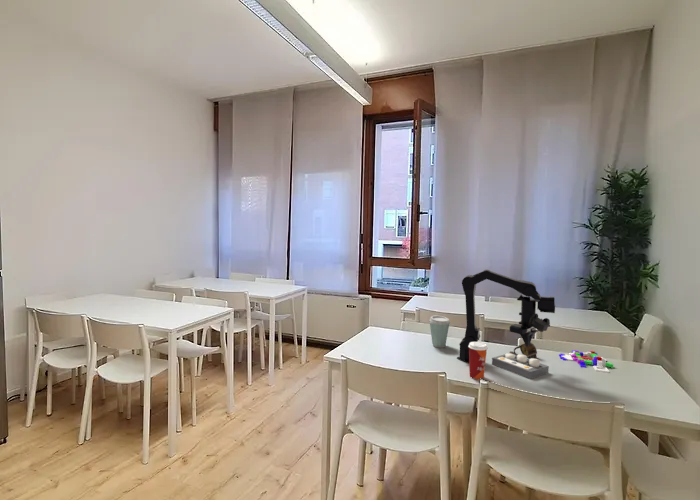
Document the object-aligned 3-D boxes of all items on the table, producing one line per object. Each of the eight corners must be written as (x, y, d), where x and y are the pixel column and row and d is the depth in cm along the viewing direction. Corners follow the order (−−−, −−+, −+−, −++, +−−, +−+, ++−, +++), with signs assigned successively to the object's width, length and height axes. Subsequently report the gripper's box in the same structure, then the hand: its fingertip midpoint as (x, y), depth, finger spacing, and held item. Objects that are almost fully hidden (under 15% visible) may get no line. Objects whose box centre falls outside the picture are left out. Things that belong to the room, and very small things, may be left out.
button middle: (523, 365, 172) (523, 358, 172) (514, 362, 176) (515, 355, 176) (528, 363, 175) (528, 356, 174) (520, 360, 178) (520, 353, 178)
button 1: (510, 364, 178) (511, 356, 177) (503, 361, 181) (503, 354, 181) (516, 362, 180) (516, 355, 180) (508, 359, 183) (509, 352, 183)
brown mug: (542, 350, 183) (535, 339, 192) (513, 346, 184) (508, 335, 194) (538, 364, 185) (532, 352, 195) (510, 359, 187) (505, 348, 196)
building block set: (556, 350, 201) (556, 342, 201) (603, 356, 194) (603, 347, 193) (563, 367, 178) (564, 358, 177) (617, 375, 171) (617, 365, 170)
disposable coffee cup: (452, 345, 206) (453, 316, 204) (445, 350, 197) (446, 321, 195) (432, 341, 211) (433, 313, 210) (425, 346, 202) (426, 318, 201)
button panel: (530, 379, 163) (530, 372, 163) (491, 364, 179) (492, 357, 179) (548, 372, 170) (548, 366, 170) (509, 359, 186) (510, 352, 186)
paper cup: (483, 382, 159) (485, 348, 158) (464, 377, 164) (466, 344, 162) (488, 375, 166) (489, 343, 165) (469, 371, 170) (471, 340, 169)
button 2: (535, 369, 167) (536, 362, 167) (527, 366, 171) (527, 359, 171) (541, 368, 170) (541, 360, 169) (532, 365, 173) (533, 357, 173)
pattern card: (527, 370, 165) (527, 369, 165) (496, 358, 178) (497, 358, 178) (532, 368, 167) (532, 367, 167) (502, 357, 180) (502, 356, 179)
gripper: (533, 317, 160) (532, 355, 161) (558, 311, 170) (557, 346, 171) (508, 312, 169) (508, 347, 171) (534, 307, 180) (533, 340, 181)
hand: (527, 345), depth 173 cm, fingers closed
